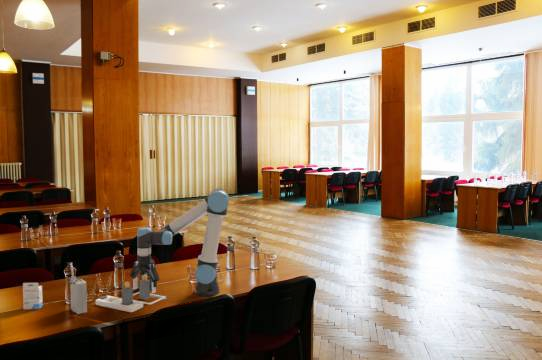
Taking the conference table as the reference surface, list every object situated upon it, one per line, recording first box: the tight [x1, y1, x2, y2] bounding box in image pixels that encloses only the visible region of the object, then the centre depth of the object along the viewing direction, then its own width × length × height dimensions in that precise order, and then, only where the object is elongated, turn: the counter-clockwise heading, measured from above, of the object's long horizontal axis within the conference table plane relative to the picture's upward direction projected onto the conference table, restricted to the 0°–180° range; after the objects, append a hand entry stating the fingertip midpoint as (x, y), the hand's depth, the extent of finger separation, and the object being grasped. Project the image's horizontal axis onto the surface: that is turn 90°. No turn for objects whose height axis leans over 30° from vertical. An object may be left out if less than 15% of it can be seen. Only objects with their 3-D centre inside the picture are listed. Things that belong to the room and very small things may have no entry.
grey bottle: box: [138, 275, 151, 301], centre depth 268 cm, size 4×4×14 cm
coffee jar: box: [138, 258, 156, 291], centre depth 287 cm, size 10×8×19 cm
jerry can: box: [69, 262, 88, 316], centre depth 249 cm, size 15×5×25 cm, turn 38°
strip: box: [94, 295, 144, 313], centre depth 256 cm, size 26×9×4 cm, turn 64°
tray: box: [133, 291, 167, 306], centre depth 268 cm, size 20×14×2 cm
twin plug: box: [121, 281, 134, 306], centre depth 253 cm, size 4×4×14 cm
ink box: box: [22, 282, 43, 310], centre depth 253 cm, size 8×5×15 cm, turn 96°
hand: (144, 290), depth 268 cm, fingers open, 13 cm apart
